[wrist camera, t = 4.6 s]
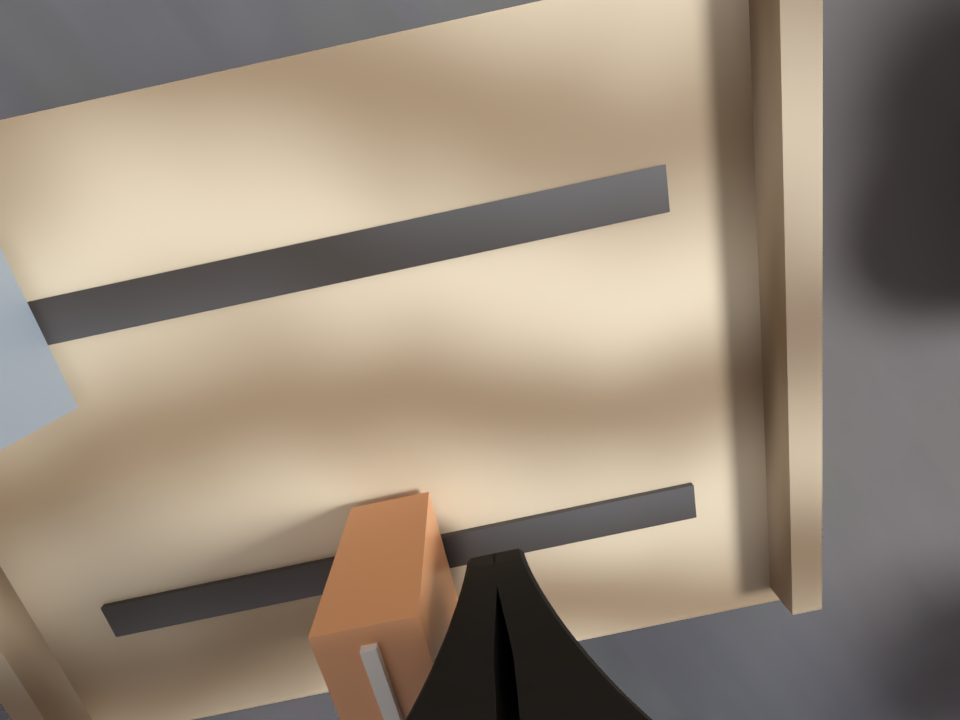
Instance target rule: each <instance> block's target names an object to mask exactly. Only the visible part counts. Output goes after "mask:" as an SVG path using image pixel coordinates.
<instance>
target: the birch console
mask: <svg viewBox="0 0 960 720" xmlns="http://www.w3.org/2000/svg"><path fill="white" fill-rule="evenodd" d="M0 247H1V250H2V252H3V254H4V256H5V258H6V260H7V262H8V264H9V266H10V268H11V270H12V272H13V274H14V276H15V278H16V280H17V282H18V285H19V287H20V289H21V291H22V293H23V295H24V297H25V299H26V301H27V303H28V305H29V307H30V309H31V311H32V313H33V315H34V317H35V319H36V322H37V324H38V326H39V328H40V330H41V332H42V334H43V336H44V338H45V340H46V342H47V344H48V346H49V348H50V350H51V352H52V354H53V357H54V359H55V361H56V363H57V365H58V367H59V369H60V371H61V373H62V375H63V377H64V379H65V381H66V383H67V385H68V387H69V389H70V392H71V394H72V396H73V398H74V400H75V402H76V404H77V406H78V408H77V409H75V410H73V411H71V412H69V413H67V414H66V415H64V416H62V417H60V418H58V419H56V420H55V421H53V422H51V423H49V424H47V425H46V426H44V427H42V428H40V429H38V430H36V431H35V432H33V433H31V434H29V435H27V436H25V437H24V438H22V439H20V440H18V441H16V442H15V443H13V444H11V445H9V446H7V447H5V448H4V449H2V450H0V704H1V705H2V707H3V708H4V710H5V711H6V713H7V714H8V716H9V717H10V719H11V720H193V719H197V718H202V717H207V716H212V715H217V714H222V713H227V712H232V711H237V710H242V709H247V708H251V707H256V706H261V705H266V704H271V703H276V702H281V701H286V700H291V699H296V698H300V697H305V696H310V695H315V694H320V693H325V692H329V690H328V688H327V685H326V683H325V680H324V678H323V675H322V673H321V670H320V668H319V665H318V663H317V660H316V657H315V655H314V652H313V650H312V647H311V645H310V642H309V640H308V636H309V633H310V630H311V627H312V624H313V621H314V618H315V615H316V612H317V609H318V606H319V603H320V600H321V597H322V594H323V591H324V588H325V585H326V582H327V579H328V576H329V573H330V570H331V567H332V564H333V561H334V558H335V555H336V552H337V549H338V546H339V543H340V540H341V537H342V534H343V531H344V528H345V525H346V522H347V519H348V516H349V513H350V510H351V508H354V507H358V506H363V505H368V504H373V503H378V502H382V501H387V500H392V499H397V498H402V497H406V496H411V495H416V494H421V493H426V492H429V494H430V498H431V501H432V505H433V509H434V512H435V516H436V520H437V524H438V527H439V531H440V535H441V538H442V542H443V546H444V549H445V553H446V557H447V560H448V564H449V568H450V571H451V575H452V579H453V583H454V586H455V590H456V594H457V597H458V598H459V595H460V592H461V588H462V584H463V581H464V577H465V572H466V567H467V563H468V561H469V560H470V559H471V558H474V557H479V556H484V555H488V554H493V553H498V552H503V551H508V550H513V549H518V548H519V549H520V550H522V551H524V554H525V557H526V560H527V562H528V565H529V567H530V569H531V571H532V573H533V575H534V577H535V579H536V581H537V583H538V584H539V586H540V588H541V590H542V591H543V593H544V595H545V596H546V598H547V599H548V601H549V602H550V604H551V605H552V607H553V608H554V610H555V611H556V613H557V614H558V616H559V617H560V619H561V620H562V621H563V623H564V624H565V626H566V627H567V628H568V630H569V631H570V632H571V633H572V635H573V636H574V637H575V639H576V640H577V641H580V640H585V639H590V638H595V637H600V636H605V635H610V634H614V633H619V632H624V631H629V630H634V629H639V628H644V627H649V626H654V625H659V624H664V623H668V622H673V621H678V620H683V619H688V618H693V617H698V616H703V615H708V614H713V613H717V612H722V611H727V610H732V609H737V608H742V607H747V606H752V605H757V604H762V603H767V602H771V601H776V600H781V601H782V603H783V604H784V605H785V606H786V608H787V609H788V610H789V611H790V612H791V614H792V615H794V614H799V613H804V612H809V611H814V610H819V609H822V249H823V0H542V1H538V2H533V3H528V4H524V5H519V6H515V7H510V8H506V9H501V10H497V11H492V12H488V13H483V14H479V15H474V16H470V17H465V18H461V19H456V20H451V21H447V22H442V23H438V24H433V25H429V26H424V27H420V28H415V29H411V30H406V31H402V32H397V33H393V34H388V35H384V36H379V37H374V38H370V39H365V40H361V41H356V42H352V43H347V44H343V45H338V46H334V47H329V48H325V49H320V50H316V51H311V52H307V53H302V54H297V55H293V56H288V57H284V58H279V59H275V60H270V61H266V62H261V63H257V64H252V65H248V66H243V67H239V68H234V69H230V70H225V71H220V72H216V73H211V74H207V75H202V76H198V77H193V78H189V79H184V80H180V81H175V82H171V83H166V84H162V85H157V86H153V87H148V88H143V89H139V90H134V91H130V92H125V93H121V94H116V95H112V96H107V97H103V98H98V99H94V100H89V101H85V102H80V103H76V104H71V105H66V106H62V107H57V108H53V109H48V110H44V111H39V112H35V113H30V114H26V115H21V116H17V117H12V118H8V119H3V120H0Z"/></svg>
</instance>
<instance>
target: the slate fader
mask: <svg viewBox="0 0 960 720" xmlns="http://www.w3.org/2000/svg"><path fill="white" fill-rule="evenodd" d="M77 408H78V406H77V404H76V402H75V400H74V398H73V396H72V394H71V392H70V389H69V387H68V385H67V383H66V381H65V379H64V377H63V375H62V373H61V371H60V369H59V367H58V365H57V363H56V361H55V359H54V357H53V354H52V352H51V350H50V348H49V346H48V344H47V342H46V340H45V338H44V336H43V334H42V332H41V330H40V328H39V326H38V324H37V322H36V319H35V317H34V315H33V313H32V311H31V309H30V307H29V305H28V303H27V301H26V299H25V297H24V295H23V293H22V291H21V289H20V287H19V285H18V282H17V280H16V278H15V276H14V274H13V272H12V270H11V268H10V266H9V264H8V262H7V260H6V258H5V256H4V254H3V252H2V250H1V247H0V450H2V449H4V448H5V447H7V446H9V445H11V444H13V443H15V442H16V441H18V440H20V439H22V438H24V437H25V436H27V435H29V434H31V433H33V432H35V431H36V430H38V429H40V428H42V427H44V426H46V425H47V424H49V423H51V422H53V421H55V420H56V419H58V418H60V417H62V416H64V415H66V414H67V413H69V412H71V411H73V410H75V409H77Z"/></svg>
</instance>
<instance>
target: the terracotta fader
mask: <svg viewBox="0 0 960 720" xmlns="http://www.w3.org/2000/svg"><path fill="white" fill-rule="evenodd" d="M457 601H458V597H457V594H456V590H455V586H454V583H453V579H452V575H451V571H450V568H449V564H448V560H447V557H446V553H445V549H444V546H443V542H442V538H441V535H440V531H439V527H438V524H437V520H436V516H435V512H434V509H433V505H432V501H431V498H430V494H429V492H426V493H421V494H416V495H411V496H406V497H402V498H397V499H392V500H387V501H382V502H378V503H373V504H368V505H363V506H358V507H354V508H351V510H350V513H349V516H348V519H347V522H346V525H345V528H344V531H343V534H342V537H341V540H340V543H339V546H338V549H337V552H336V555H335V558H334V561H333V564H332V567H331V570H330V573H329V576H328V579H327V582H326V585H325V588H324V591H323V594H322V597H321V600H320V603H319V606H318V609H317V612H316V615H315V618H314V621H313V624H312V627H311V630H310V633H309V636H308V640H309V642H310V645H311V647H312V650H313V652H314V655H315V657H316V660H317V663H318V665H319V668H320V670H321V673H322V675H323V678H324V680H325V683H326V685H327V688H328V690H329V693H330V695H331V698H332V700H333V703H334V706H335V708H336V711H337V713H338V716H339V718H340V720H405V719H406V717H407V716H408V714H409V712H410V710H411V709H412V707H413V705H414V703H415V701H416V699H417V697H418V695H419V693H420V691H421V689H422V687H423V685H424V683H425V681H426V679H427V677H428V675H429V673H430V671H431V669H432V666H433V664H434V662H435V659H436V657H437V655H438V652H439V650H440V647H441V645H442V643H443V640H444V638H445V635H446V633H447V630H448V627H449V625H450V622H451V619H452V616H453V613H454V610H455V608H456V605H457Z"/></svg>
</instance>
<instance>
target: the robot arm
mask: <svg viewBox="0 0 960 720" xmlns="http://www.w3.org/2000/svg"><path fill="white" fill-rule="evenodd" d="M405 720H652V719H651V718H650V717H649V716H648V715H647V714H645V713H644V712H643V711H642V710H641V709H640V708H639V707H638V706H637V705H636V704H635V703H634V702H633V701H632V700H630V699H629V698H628V697H627V696H626V695H625V694H624V693H623V692H622V691H621V690H620V689H619V688H618V687H617V686H616V685H615V683H614V682H613V681H612V680H611V679H610V678H609V677H608V676H607V675H606V674H605V673H604V672H603V671H602V670H601V668H600V667H599V666H598V665H597V664H596V663H595V662H594V661H593V659H592V658H591V657H590V656H589V655H588V654H587V652H586V651H585V650H584V649H583V648H582V646H581V645H580V644H579V643H578V641H577V640H576V639H575V637H574V636H573V635H572V633H571V632H570V631H569V630H568V628H567V627H566V626H565V624H564V623H563V621H562V620H561V619H560V617H559V616H558V614H557V613H556V611H555V610H554V608H553V607H552V605H551V604H550V602H549V601H548V599H547V598H546V596H545V595H544V593H543V591H542V590H541V588H540V586H539V584H538V583H537V581H536V579H535V577H534V575H533V573H532V571H531V569H530V567H529V565H528V562H527V560H526V557H525V554H524V551H522V550H520V549H519V548H518V549H513V550H508V551H503V552H498V553H493V554H488V555H484V556H479V557H474V558H471V559H470V560H469V561H468V563H467V567H466V572H465V577H464V581H463V584H462V588H461V592H460V595H459V598H458V601H457V605H456V608H455V610H454V613H453V616H452V619H451V622H450V625H449V627H448V630H447V633H446V635H445V638H444V640H443V643H442V645H441V647H440V650H439V652H438V655H437V657H436V659H435V662H434V664H433V666H432V669H431V671H430V673H429V675H428V677H427V679H426V681H425V683H424V685H423V687H422V689H421V691H420V693H419V695H418V697H417V699H416V701H415V703H414V705H413V707H412V709H411V710H410V712H409V714H408V716H407V717H406V719H405Z"/></svg>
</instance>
